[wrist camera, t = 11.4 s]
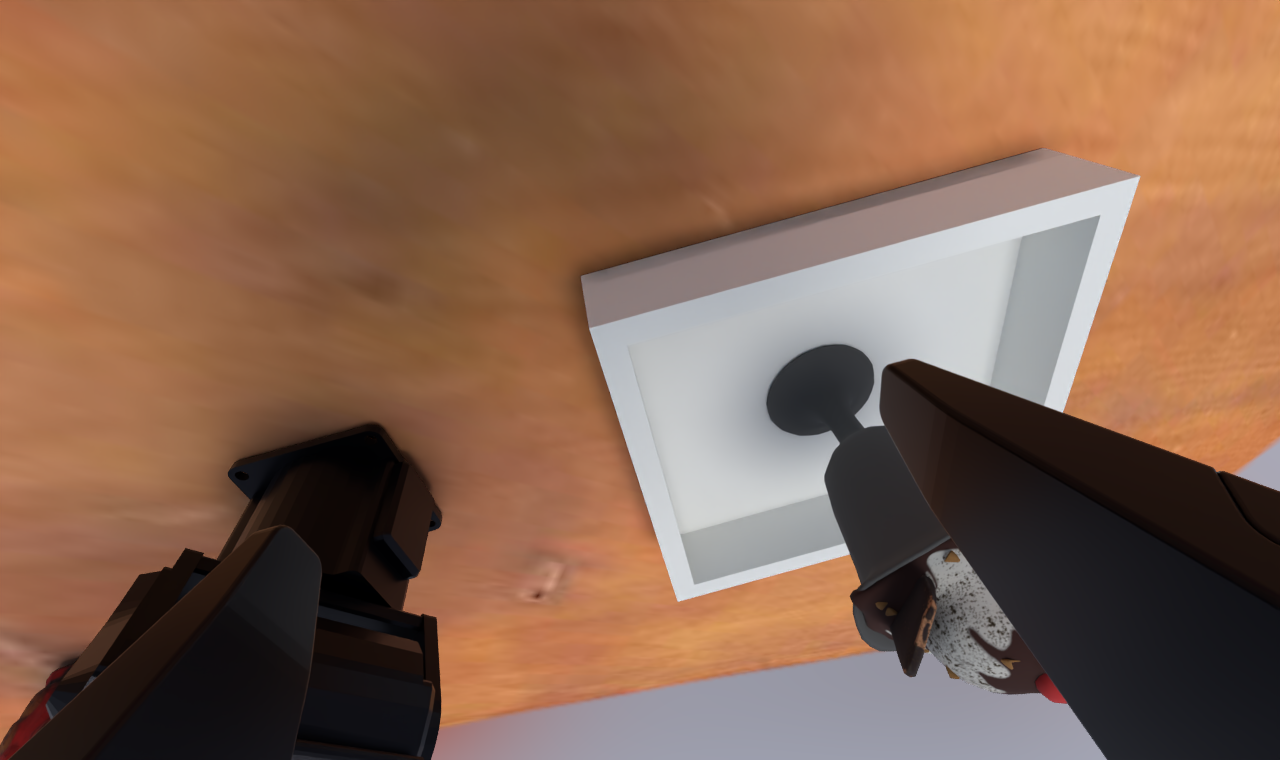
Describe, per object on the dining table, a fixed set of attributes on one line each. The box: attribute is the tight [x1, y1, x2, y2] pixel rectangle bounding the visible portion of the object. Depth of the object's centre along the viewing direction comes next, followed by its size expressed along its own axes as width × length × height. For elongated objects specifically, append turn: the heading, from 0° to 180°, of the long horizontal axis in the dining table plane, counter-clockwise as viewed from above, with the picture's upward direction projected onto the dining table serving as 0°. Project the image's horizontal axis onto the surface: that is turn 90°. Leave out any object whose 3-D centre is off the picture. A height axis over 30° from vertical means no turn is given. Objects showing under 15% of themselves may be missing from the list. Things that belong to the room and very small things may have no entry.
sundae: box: [767, 345, 1067, 704], centre depth 18 cm, size 7×7×15 cm
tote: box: [581, 148, 1140, 602], centre depth 23 cm, size 18×16×4 cm
